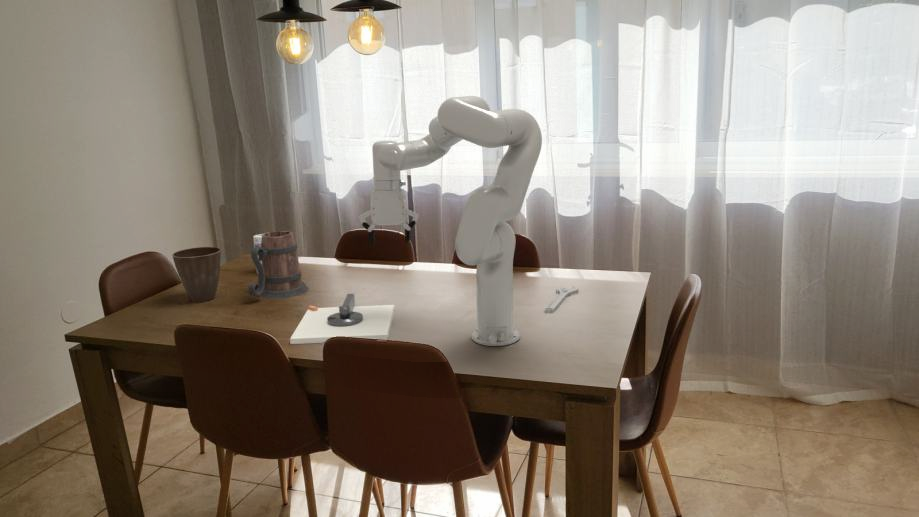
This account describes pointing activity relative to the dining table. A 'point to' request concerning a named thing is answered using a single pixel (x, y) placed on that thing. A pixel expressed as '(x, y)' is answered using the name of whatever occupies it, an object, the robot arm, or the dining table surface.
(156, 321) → the dining table surface
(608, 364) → the dining table surface
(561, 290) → the adjustable wrench
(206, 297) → the plant pot
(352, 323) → the dial
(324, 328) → the dial board
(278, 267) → the tankard
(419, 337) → the dining table surface
